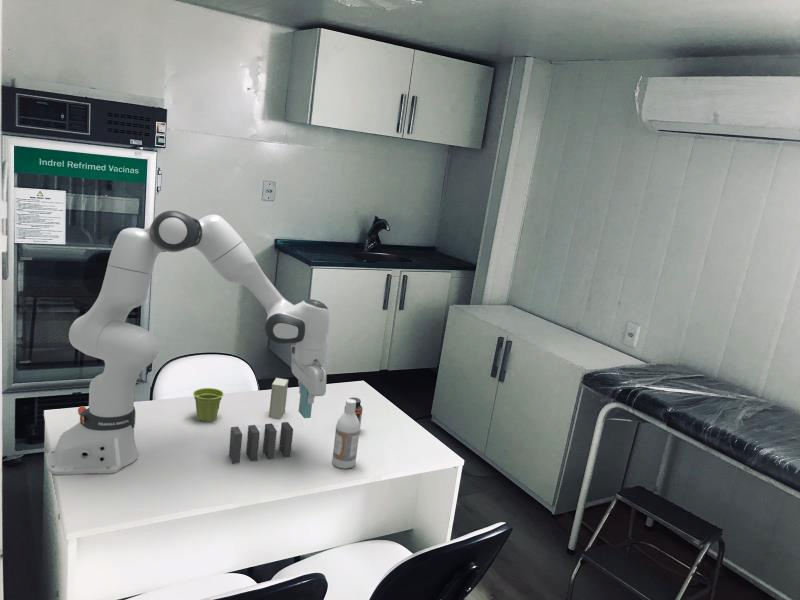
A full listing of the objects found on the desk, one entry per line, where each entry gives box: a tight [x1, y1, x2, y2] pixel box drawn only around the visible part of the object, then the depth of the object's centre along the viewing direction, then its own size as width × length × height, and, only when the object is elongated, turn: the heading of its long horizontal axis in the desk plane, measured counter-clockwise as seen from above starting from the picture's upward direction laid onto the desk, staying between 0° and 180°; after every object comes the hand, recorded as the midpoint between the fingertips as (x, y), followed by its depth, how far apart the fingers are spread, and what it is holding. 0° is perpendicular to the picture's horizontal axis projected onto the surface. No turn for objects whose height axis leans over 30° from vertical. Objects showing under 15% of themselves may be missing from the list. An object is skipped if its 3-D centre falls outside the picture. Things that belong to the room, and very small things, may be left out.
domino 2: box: [245, 424, 260, 463], centre depth 182 cm, size 2×5×9 cm, turn 28°
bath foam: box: [331, 398, 361, 470], centre depth 185 cm, size 7×7×20 cm
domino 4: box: [278, 421, 294, 459], centre depth 187 cm, size 2×5×9 cm, turn 28°
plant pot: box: [192, 387, 224, 423], centre depth 204 cm, size 9×9×9 cm
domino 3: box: [262, 423, 278, 461], centre depth 185 cm, size 2×5×9 cm, turn 28°
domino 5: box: [298, 384, 313, 419], centre depth 187 cm, size 2×5×9 cm, turn 28°
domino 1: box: [228, 426, 243, 464], centre depth 180 cm, size 2×5×9 cm, turn 28°
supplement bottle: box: [343, 396, 363, 425], centre depth 208 cm, size 6×6×11 cm
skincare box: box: [268, 377, 289, 420], centre depth 213 cm, size 6×4×12 cm
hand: (306, 398), depth 187 cm, fingers closed on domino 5, 5 cm apart
